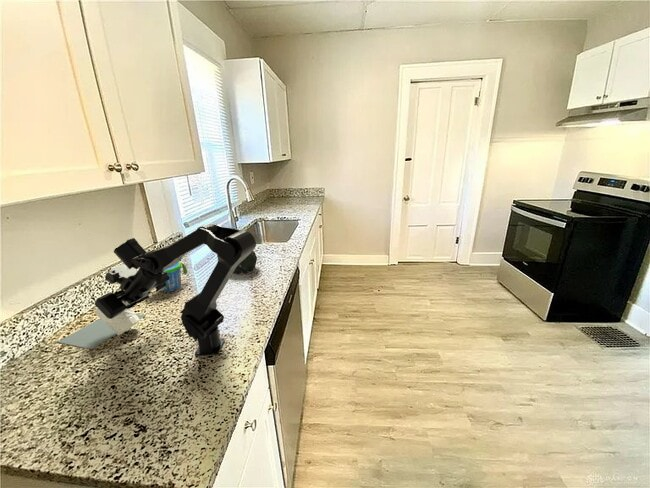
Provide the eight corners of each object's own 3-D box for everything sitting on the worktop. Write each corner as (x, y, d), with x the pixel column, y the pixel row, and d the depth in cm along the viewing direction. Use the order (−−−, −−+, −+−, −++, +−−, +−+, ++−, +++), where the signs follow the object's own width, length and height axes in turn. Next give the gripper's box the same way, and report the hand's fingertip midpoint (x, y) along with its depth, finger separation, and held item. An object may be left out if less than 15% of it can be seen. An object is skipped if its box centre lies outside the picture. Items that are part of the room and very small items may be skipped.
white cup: (147, 315, 90) (126, 291, 89) (130, 326, 82) (106, 301, 81) (130, 328, 91) (108, 305, 90) (111, 341, 83) (87, 315, 82)
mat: (145, 317, 97) (145, 315, 97) (92, 351, 80) (91, 349, 80) (115, 312, 101) (114, 310, 100) (58, 344, 84) (57, 341, 84)
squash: (259, 252, 140) (236, 233, 133) (265, 263, 127) (239, 243, 120) (240, 272, 140) (215, 255, 132) (243, 286, 127) (216, 267, 119)
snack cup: (157, 299, 108) (152, 275, 104) (145, 292, 113) (139, 269, 110) (195, 284, 120) (191, 262, 116) (182, 278, 125) (178, 257, 122)
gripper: (152, 247, 86) (131, 275, 93) (90, 271, 69) (69, 303, 76) (177, 274, 87) (155, 299, 93) (122, 304, 70) (99, 332, 76)
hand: (122, 307), depth 85 cm, fingers closed
